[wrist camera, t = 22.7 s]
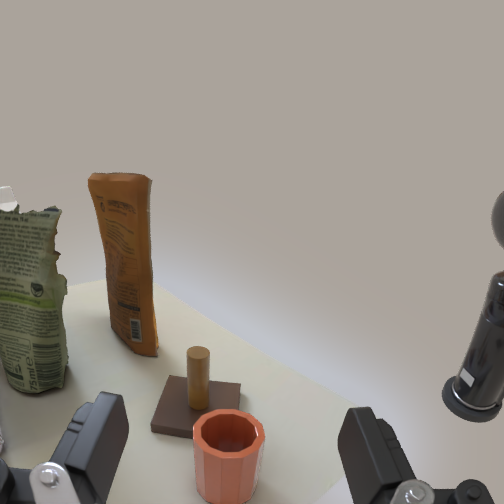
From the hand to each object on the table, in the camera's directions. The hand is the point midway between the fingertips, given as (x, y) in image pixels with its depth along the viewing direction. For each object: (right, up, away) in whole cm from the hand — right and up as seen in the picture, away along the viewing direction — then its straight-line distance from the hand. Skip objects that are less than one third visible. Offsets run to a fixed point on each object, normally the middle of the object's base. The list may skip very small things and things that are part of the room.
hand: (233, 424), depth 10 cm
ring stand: (-6, -14, +27) cm, 31 cm away
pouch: (-30, -12, +28) cm, 43 cm away
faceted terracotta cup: (-2, -18, +16) cm, 24 cm away
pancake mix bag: (-21, -9, +42) cm, 48 cm away
